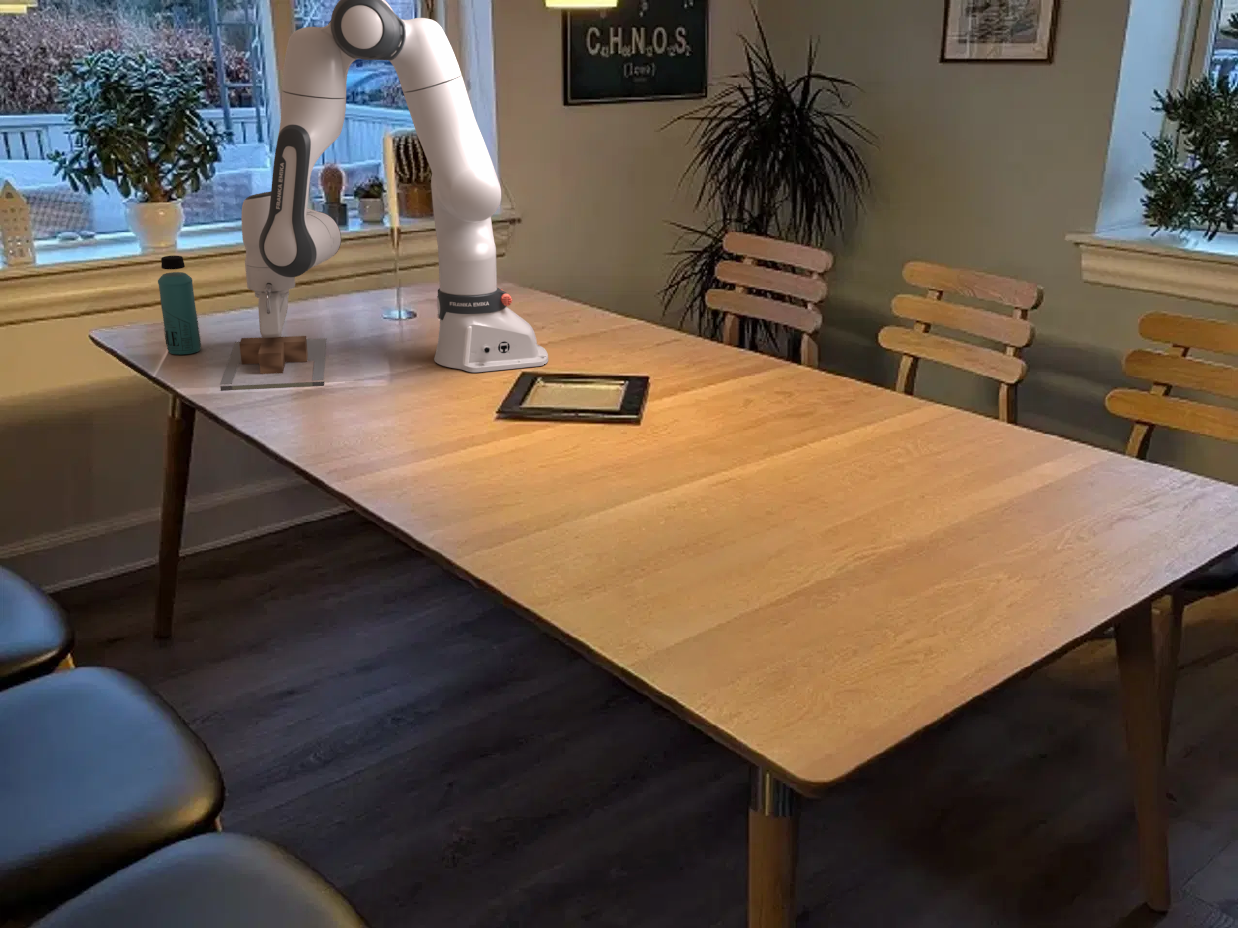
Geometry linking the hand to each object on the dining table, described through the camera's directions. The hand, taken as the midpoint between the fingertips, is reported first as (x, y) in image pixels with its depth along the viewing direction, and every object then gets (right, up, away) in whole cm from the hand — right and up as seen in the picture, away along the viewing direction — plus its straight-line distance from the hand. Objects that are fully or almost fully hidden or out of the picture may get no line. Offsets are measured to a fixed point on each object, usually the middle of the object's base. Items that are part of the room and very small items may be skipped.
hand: (276, 348), depth 218 cm
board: (+1, -4, -3) cm, 5 cm away
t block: (+1, -4, -6) cm, 8 cm away
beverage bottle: (-18, -2, +1) cm, 19 cm away
